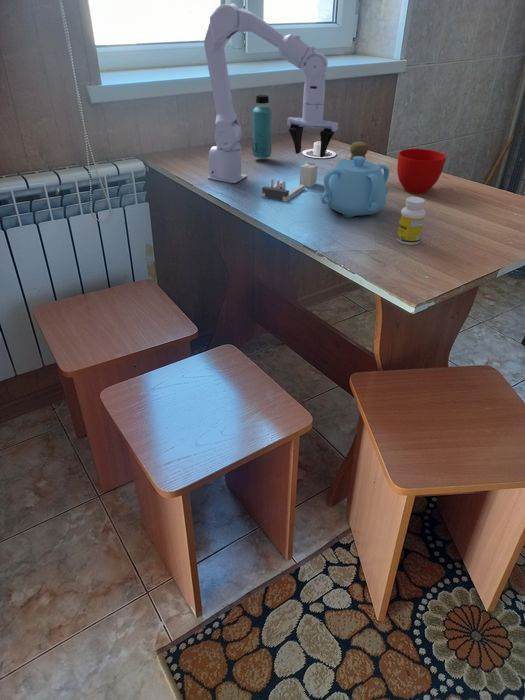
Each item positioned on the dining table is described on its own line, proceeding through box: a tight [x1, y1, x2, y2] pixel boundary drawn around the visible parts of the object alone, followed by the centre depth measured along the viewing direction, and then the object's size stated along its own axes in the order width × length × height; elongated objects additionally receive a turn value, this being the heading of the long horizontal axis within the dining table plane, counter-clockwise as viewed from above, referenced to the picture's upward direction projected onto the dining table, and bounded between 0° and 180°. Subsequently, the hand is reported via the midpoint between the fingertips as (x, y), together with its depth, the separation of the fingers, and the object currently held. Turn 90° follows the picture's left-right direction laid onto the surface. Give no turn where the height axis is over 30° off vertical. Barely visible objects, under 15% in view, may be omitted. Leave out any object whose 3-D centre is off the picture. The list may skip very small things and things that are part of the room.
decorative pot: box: [320, 156, 390, 219], centre depth 131 cm, size 16×16×14 cm
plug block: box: [299, 162, 319, 188], centre depth 151 cm, size 4×4×6 cm
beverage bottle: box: [251, 94, 273, 159], centre depth 167 cm, size 6×7×20 cm
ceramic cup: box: [396, 148, 447, 195], centre depth 148 cm, size 13×17×10 cm
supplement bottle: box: [396, 196, 426, 246], centre depth 116 cm, size 5×5×10 cm
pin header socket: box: [260, 178, 305, 202], centre depth 144 cm, size 8×12×4 cm, turn 152°
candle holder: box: [301, 140, 337, 159], centre depth 179 cm, size 12×12×4 cm
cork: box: [349, 141, 369, 160], centre depth 153 cm, size 6×6×11 cm
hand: (310, 154), depth 148 cm, fingers open, 7 cm apart
